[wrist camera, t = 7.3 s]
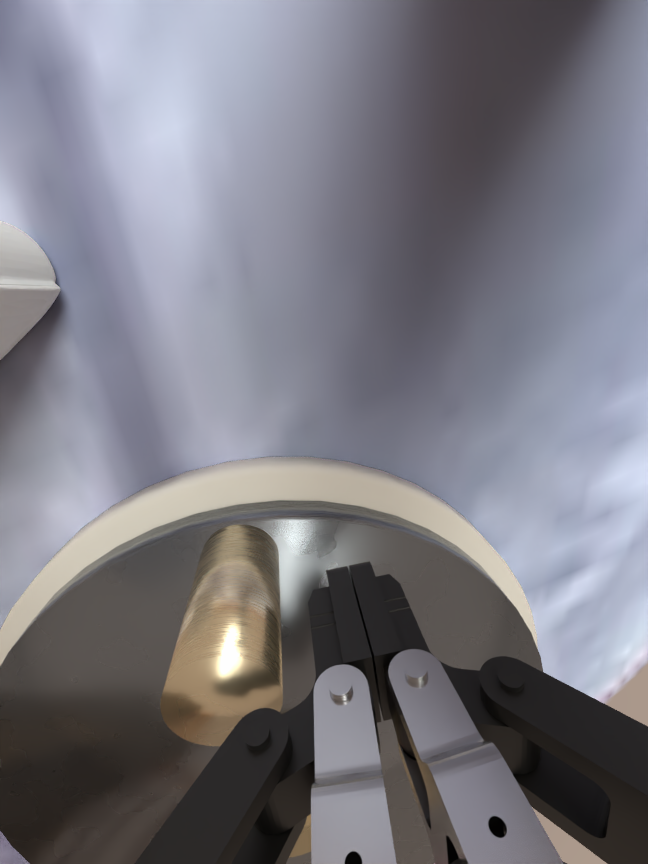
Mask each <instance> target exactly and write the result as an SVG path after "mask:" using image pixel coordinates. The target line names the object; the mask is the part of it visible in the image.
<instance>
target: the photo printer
mask: <svg viewBox="0 0 648 864" xmlns="http://www.w3.org/2000/svg"><path fill="white" fill-rule="evenodd" d="M55 282H56V276H55V273H54V270H53V267H52V265H51V263H50V261H49V259H48V257H47V256H46V254H45V253H44V251H43V250H42V249H41V248H40V246H39V245H38V244H37V243H36V242H35V241H34V240H33V239H32V238H31V237H30V236H28V235H27V234H26V233H25V232H23V231H22V230H20V229H18V228H17V227H15V226H13V225H11V224H8V223H6V222H3V221H0V360H1V359H2V358H3V357H4V356H5V355H6V354H7V353H8V352H9V351H10V350H11V349H12V348H13V347H14V346H15V345H16V344H17V343H18V342H19V341H20V340H21V339H22V338H23V337H24V336H25V335H26V334H27V333H28V332H29V331H30V330H31V329H32V327H33V326H34V325H35V324H36V323H37V322H38V321H39V320H40V319H41V318H42V317H43V316H44V314H45V313H46V312H47V311H48V309H49V308H50V307H51V305H52V304H53V303H54V301H55V300H56V298H57V296H58V294H59V293H60V287H59V286H58V285H57V284H55Z"/></svg>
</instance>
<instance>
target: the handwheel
mask: <svg viewBox="0 0 648 864" xmlns="http://www.w3.org/2000/svg"><path fill="white" fill-rule="evenodd" d="M368 561H370V563H371V565H372V568H373V571H374V573H375V576H381V575H386V574H390V575H391V576H392V577H393V578H394V579H396V580H397V581H398V582H399V583H400V585H401V587H402V589H403V591H404V594H405V596H406V598H407V600H408V603H409V605H410V608H411V610H412V612H413V614H414V616H415V619H416V621H417V623H418V626H419V628H420V630H421V632H422V635H423V637H424V639H425V642H426V644H427V646H428V648H429V650H430V652H431V653H432V654H433V655H434V656H435V657H436V658H437V659H438V660H439V661H441V662H442V663H444V664H446V665H448V666H451V667H454V668H459V669H468V670H479V671H480V669H481V667H482V665H483V664H484V663H485V662H486V661H487V660H489V659H491V658H494V657H498V656H507V657H512V658H515V659H518V660H520V661H522V662H524V663H526V664H528V665H530V666H532V667H534V668H536V669H538V670H540V671H542V672H543V668H542V663H541V657H540V655H539V652H538V649H537V647H536V644H535V641H534V639H533V636H532V633H531V631H530V630H529V628H528V627H527V625H526V623H525V622H524V620H523V618H522V617H521V615H520V613H519V612H518V610H517V609H516V607H515V606H514V605H513V604H512V602H511V601H510V600H509V598H508V597H507V596H506V595H505V593H504V592H503V591H502V590H501V588H500V587H499V586H498V585H497V584H496V582H495V581H494V580H493V579H492V578H491V577H490V576H489V574H488V573H487V572H486V571H485V570H484V569H483V568H482V566H481V565H480V564H478V563H477V562H476V561H475V560H474V559H472V558H471V557H470V556H469V555H468V554H466V553H465V552H464V551H463V550H461V549H460V548H459V547H458V546H456V545H455V544H453V543H451V542H450V541H448V540H446V539H445V538H443V537H441V536H440V535H438V534H436V533H434V532H433V531H431V530H429V529H427V528H425V527H422V526H420V525H418V524H415V523H413V522H410V521H408V520H405V519H403V518H401V517H398V516H395V515H392V514H388V513H384V512H380V511H377V510H373V509H369V508H365V507H361V506H355V505H348V504H341V503H333V502H326V501H296V500H277V501H267V502H258V503H248V504H238V505H233V506H228V507H224V508H219V509H215V510H210V511H206V512H201V513H197V514H193V515H190V516H187V517H185V518H182V519H179V520H176V521H173V522H170V523H167V524H165V525H162V526H159V527H156V528H153V529H151V530H149V531H147V532H145V533H143V534H141V535H139V536H137V537H135V538H133V539H131V540H129V541H127V542H125V543H123V544H121V545H119V546H117V547H115V548H114V549H112V550H111V551H109V552H108V553H106V554H105V555H103V556H102V557H100V558H99V559H97V560H96V561H94V562H93V563H91V564H90V565H88V566H87V567H85V568H84V569H82V570H81V571H80V572H79V573H78V574H77V575H76V576H74V577H73V578H72V579H71V580H70V581H69V582H68V583H66V584H65V585H64V586H63V587H62V588H61V589H60V590H58V591H57V592H56V593H55V594H54V595H53V596H52V598H51V599H50V600H49V601H48V602H47V604H46V605H45V606H44V607H43V608H42V610H41V611H40V612H39V613H38V614H37V615H36V617H35V618H34V619H33V620H32V621H31V623H30V624H29V625H28V627H27V628H26V629H25V631H24V632H23V634H22V635H21V636H20V638H19V639H18V640H17V642H16V643H15V644H14V646H13V647H12V648H11V650H10V651H9V652H8V654H7V656H6V657H5V659H4V661H3V663H2V664H1V666H0V831H1V832H2V833H3V835H4V836H5V837H6V839H7V840H8V841H9V843H10V844H11V845H12V847H13V848H15V849H16V850H17V851H18V852H19V853H20V854H21V855H22V856H23V857H24V858H25V859H26V860H27V861H28V862H29V863H30V864H134V863H135V862H136V861H137V859H138V858H139V857H140V855H141V854H142V852H143V851H144V850H145V848H146V847H147V846H148V844H149V843H150V842H151V840H152V839H153V838H154V836H155V835H156V833H157V832H158V831H159V829H160V828H161V827H162V825H163V824H164V823H165V821H166V820H167V818H168V817H169V816H170V814H171V813H172V812H173V810H174V809H175V808H176V806H177V805H178V803H179V802H180V801H181V799H182V798H183V797H184V795H185V794H186V793H187V791H188V790H189V788H190V787H191V786H192V784H193V783H194V782H195V780H196V779H197V778H198V776H199V775H200V774H201V772H202V771H203V769H204V768H205V767H206V765H207V764H208V763H209V761H210V760H211V759H212V757H213V756H214V754H215V753H216V752H217V750H218V749H219V748H220V746H221V745H222V744H223V742H224V741H225V739H226V738H227V737H228V735H229V734H230V733H231V731H232V730H233V729H234V727H235V726H236V725H237V723H238V722H239V721H240V720H241V719H242V718H243V717H244V716H245V715H247V714H248V713H250V712H252V711H254V710H257V709H260V708H271V709H274V710H277V711H278V712H280V713H281V714H284V713H285V712H287V711H289V710H291V709H292V708H294V707H296V706H297V705H299V704H300V703H301V702H302V701H303V700H305V699H306V697H307V696H308V695H309V693H310V692H311V690H312V688H313V686H314V683H315V678H316V671H315V662H314V652H313V643H312V634H311V625H310V616H309V607H308V602H309V599H310V597H311V594H312V591H313V590H314V589H319V588H324V587H329V584H328V578H327V573H326V570H330V569H335V568H339V567H344V566H347V567H348V570H349V565H354V564H358V563H363V562H368ZM379 708H380V705H379ZM380 715H381V722H378V723H377V727H378V733H379V740H380V746H381V750H380V762H381V768H382V774H383V781H384V787H385V793H386V800H387V806H388V812H389V819H390V825H391V831H392V838H393V844H394V850H395V857H396V863H397V864H434V863H435V860H434V855H433V851H432V847H431V844H430V840H429V837H428V834H427V831H426V828H425V825H424V822H423V820H422V817H421V814H420V811H419V808H418V805H417V802H416V799H415V797H414V794H413V791H412V788H411V785H410V782H409V779H408V776H407V774H406V771H405V768H404V765H403V762H402V759H401V756H400V753H399V750H398V743H397V735H396V732H395V728H394V725H393V721H392V719H390V720H386V721H383V717H382V713H381V709H380ZM286 864H312V862H311V814H310V815H309V816H307V819H306V823H305V825H304V828H303V830H302V832H301V834H300V836H299V838H298V840H297V842H296V844H295V846H294V848H293V850H292V852H291V854H290V856H289V858H288V860H287V862H286Z"/></svg>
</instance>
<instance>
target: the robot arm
mask: <svg viewBox="0 0 648 864" xmlns="http://www.w3.org/2000/svg"><path fill="white" fill-rule="evenodd" d="M326 573H327V578H328V584H329V587H324V588H319V589H314V590H313V591H312V594H311V597H310V599H309V602H308V607H309V616H310V625H311V634H312V643H313V652H314V662H315V671H316V678H315V683H314V686H313V688H312V690H311V692H310V693H309V695H308V696H307V697H306V699H305V700H303V701H302V702H301V703H300V704H299V705H297V706H296V707H294V708H292V709H291V710H289V711H287V712H285V713H284V714H281V713H280V712H278V711H277V710H274V709H271V708H260V709H257V710H254V711H252V712H250V713H248V714H247V715H245V716H244V717H243V718H242V719H241V720H240V721H239V722H238V723H237V725H236V726H235V727H234V729H233V730H232V731H231V733H230V734H229V735H228V737H227V738H226V739H225V741H224V742H223V744H222V745H221V746H220V748H219V749H218V750H217V752H216V753H215V754H214V756H213V757H212V759H211V760H210V761H209V763H208V764H207V765H206V767H205V768H204V769H203V771H202V772H201V774H200V775H199V776H198V778H197V779H196V780H195V782H194V783H193V784H192V786H191V787H190V788H189V790H188V791H187V793H186V794H185V795H184V797H183V798H182V799H181V801H180V802H179V803H178V805H177V806H176V808H175V809H174V810H173V812H172V813H171V814H170V816H169V817H168V818H167V820H166V821H165V823H164V824H163V825H162V827H161V828H160V829H159V831H158V832H157V833H156V835H155V836H154V838H153V839H152V840H151V842H150V843H149V844H148V846H147V847H146V848H145V850H144V851H143V852H142V854H141V855H140V857H139V858H138V859H137V861H136V862H135V863H134V864H286V862H287V860H288V858H289V856H290V854H291V852H292V850H293V848H294V846H295V844H296V842H297V840H298V838H299V836H300V834H301V832H302V830H303V828H304V825H305V823H306V819H307V816H309V815H310V814H311V862H312V864H397V863H396V857H395V850H394V844H393V838H392V831H391V825H390V819H389V812H388V806H387V800H386V793H385V787H384V781H383V774H382V768H381V762H380V750H381V746H380V740H379V733H378V727H377V723H378V722H381V715H380V709H381V713H382V717H383V721H386V720H390V719H392V721H393V725H394V728H395V732H396V735H397V743H398V750H399V753H400V756H401V759H402V762H403V765H404V768H405V771H406V774H407V776H408V779H409V782H410V785H411V788H412V791H413V794H414V797H415V799H416V802H417V805H418V808H419V811H420V814H421V817H422V820H423V822H424V825H425V828H426V831H427V834H428V837H429V840H430V844H431V847H432V851H433V855H434V860H435V863H436V864H567V863H565V862H563V861H562V860H561V858H560V856H559V855H558V853H557V851H556V849H555V847H554V846H553V844H552V842H551V840H550V839H549V837H548V835H547V834H546V832H545V830H544V828H543V826H542V825H541V823H540V821H539V819H538V818H537V816H536V814H535V812H534V811H533V809H532V807H533V808H534V809H536V810H537V811H538V812H540V813H541V814H542V815H544V816H545V817H546V818H548V819H549V820H550V821H552V822H553V823H554V824H556V825H557V826H558V827H560V828H561V829H562V830H564V831H565V832H566V833H568V834H569V835H570V836H572V837H573V838H574V839H576V840H577V841H578V842H580V843H581V844H582V845H584V846H585V847H586V848H587V849H589V850H590V851H591V852H593V853H594V854H595V855H597V856H598V857H600V858H601V859H602V860H603V861H605V862H606V863H608V864H648V727H647V726H646V725H643V724H642V723H640V722H638V721H636V720H634V719H632V718H630V717H628V716H626V715H624V714H623V713H621V712H619V711H617V710H615V709H613V708H611V707H609V706H607V705H605V704H603V703H601V702H599V701H598V700H596V699H594V698H592V697H590V696H588V695H586V694H584V693H582V692H580V691H578V690H576V689H574V688H573V687H571V686H569V685H567V684H565V683H563V682H561V681H559V680H557V679H555V678H553V677H551V676H549V675H547V674H546V673H544V672H542V671H540V670H538V669H536V668H534V667H532V666H530V665H528V664H526V663H524V662H522V661H520V660H518V659H515V658H512V657H507V656H498V657H494V658H491V659H489V660H487V661H486V662H485V663H484V664H483V665H482V667H481V669H480V671H479V670H468V669H459V668H454V667H451V666H448V665H446V664H444V663H442V662H441V661H439V660H438V659H437V658H436V657H435V656H434V655H433V654H432V653H431V652H430V650H429V648H428V646H427V644H426V642H425V639H424V637H423V635H422V632H421V630H420V628H419V626H418V623H417V621H416V619H415V616H414V614H413V612H412V610H411V608H410V605H409V603H408V600H407V598H406V596H405V594H404V591H403V589H402V587H401V585H400V583H399V582H398V581H397V580H396V579H394V578H393V577H392V576H391V575H390V574H386V575H381V576H375V573H374V571H373V568H372V565H371V563H370V561H368V562H363V563H358V564H354V565H349V570H348V567H347V566H344V567H339V568H335V569H330V570H326ZM379 705H380V708H379ZM531 806H532V807H531Z"/></svg>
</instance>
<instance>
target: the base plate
mask: <svg viewBox="0 0 648 864" xmlns="http://www.w3.org/2000/svg"><path fill="white" fill-rule="evenodd" d="M277 500H296V501H326V502H333V503H341V504H348V505H355V506H361V507H365V508H369V509H373V510H377V511H380V512H384V513H388V514H392V515H395V516H398V517H401V518H403V519H405V520H408V521H410V522H413V523H415V524H418V525H420V526H422V527H425V528H427V529H429V530H431V531H433V532H434V533H436V534H438V535H440V536H441V537H443V538H445V539H446V540H448V541H450V542H451V543H453V544H455V545H456V546H458V547H459V548H460V549H461V550H463V551H464V552H465V553H466V554H468V555H469V556H470V557H471V558H472V559H474V560H475V561H476V562H477V563H478V564H480V565H481V566H482V568H483V569H484V570H485V571H486V572H487V573H488V574H489V576H490V577H491V578H492V579H493V580H494V581H495V582H496V584H497V585H498V586H499V587H500V588H501V590H502V591H503V592H504V593H505V595H506V596H507V597H508V598H509V600H510V601H511V602H512V604H513V605H514V606H515V607H516V609H517V610H518V612H519V613H520V615H521V617H522V618H523V620H524V622H525V623H526V625H527V627H528V628H529V630H530V631H531V633H532V636H533V639H534V641H535V644H536V647H537V634H536V630H535V625H534V621H533V616H532V612H531V609H530V607H529V604H528V602H527V599H526V597H525V595H524V592H523V590H522V587H521V585H520V584H519V582H518V581H517V579H516V578H515V576H514V575H513V573H512V571H511V570H510V568H509V567H508V565H507V564H506V562H505V561H504V560H503V559H502V558H501V557H500V555H499V554H498V553H497V552H496V551H495V550H494V549H493V547H492V546H491V545H490V544H489V543H488V542H487V541H486V540H485V539H484V537H483V536H482V535H481V534H480V533H479V532H478V531H477V530H476V529H475V528H474V526H473V525H472V524H471V523H470V522H469V521H468V520H467V519H466V518H465V517H464V516H462V515H461V514H460V513H459V512H457V511H456V510H455V509H454V508H452V507H451V506H450V505H449V504H447V503H446V502H445V501H444V500H442V499H440V498H439V497H437V496H435V495H434V494H432V493H430V492H428V491H427V490H425V489H423V488H421V487H420V486H418V485H416V484H414V483H412V482H410V481H407V480H405V479H402V478H400V477H397V476H395V475H392V474H390V473H387V472H385V471H382V470H378V469H374V468H370V467H366V466H363V465H359V464H355V463H351V462H347V461H339V460H331V459H323V458H315V457H261V458H253V459H245V460H237V461H229V462H224V463H220V464H216V465H212V466H208V467H204V468H200V469H196V470H192V471H188V472H185V473H182V474H179V475H177V476H174V477H172V478H169V479H166V480H164V481H161V482H159V483H156V484H153V485H151V486H148V487H146V488H145V489H143V490H141V491H139V492H137V493H135V494H133V495H132V496H130V497H128V498H126V499H124V500H122V501H120V502H118V503H117V504H115V505H113V506H112V507H110V508H109V509H108V510H106V511H105V512H103V513H102V514H101V515H99V516H98V517H97V518H95V519H94V520H92V521H91V522H90V523H88V524H87V525H85V526H84V527H83V528H82V529H81V530H80V531H79V532H78V533H76V534H75V535H74V536H73V537H72V538H71V539H70V540H69V541H68V542H67V543H66V544H65V545H64V546H63V547H62V548H61V549H60V550H59V551H58V552H57V553H56V554H55V555H54V556H53V558H52V559H51V560H50V561H49V562H48V563H47V565H46V566H45V567H44V568H43V569H42V571H41V572H40V573H39V574H38V575H37V576H36V578H35V579H34V580H33V581H32V583H31V584H30V585H29V587H28V588H27V589H26V590H25V592H24V593H23V594H22V596H21V597H20V598H19V600H18V601H17V602H16V604H15V605H14V606H13V608H12V609H11V610H10V612H9V614H8V616H7V618H6V620H5V622H4V624H3V626H2V628H1V630H0V666H1V664H2V663H3V661H4V659H5V657H6V656H7V654H8V652H9V651H10V650H11V648H12V647H13V646H14V644H15V643H16V642H17V640H18V639H19V638H20V636H21V635H22V634H23V632H24V631H25V629H26V628H27V627H28V625H29V624H30V623H31V621H32V620H33V619H34V618H35V617H36V615H37V614H38V613H39V612H40V611H41V610H42V608H43V607H44V606H45V605H46V604H47V602H48V601H49V600H50V599H51V598H52V596H53V595H54V594H55V593H56V592H57V591H58V590H60V589H61V588H62V587H63V586H64V585H65V584H66V583H68V582H69V581H70V580H71V579H72V578H73V577H74V576H76V575H77V574H78V573H79V572H80V571H81V570H82V569H84V568H85V567H87V566H88V565H90V564H91V563H93V562H94V561H96V560H97V559H99V558H100V557H102V556H103V555H105V554H106V553H108V552H109V551H111V550H112V549H114V548H115V547H117V546H119V545H121V544H123V543H125V542H127V541H129V540H131V539H133V538H135V537H137V536H139V535H141V534H143V533H145V532H147V531H149V530H151V529H153V528H156V527H159V526H162V525H165V524H167V523H170V522H173V521H176V520H179V519H182V518H185V517H187V516H190V515H193V514H197V513H201V512H206V511H210V510H215V509H219V508H224V507H228V506H233V505H238V504H248V503H258V502H267V501H277Z"/></svg>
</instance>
